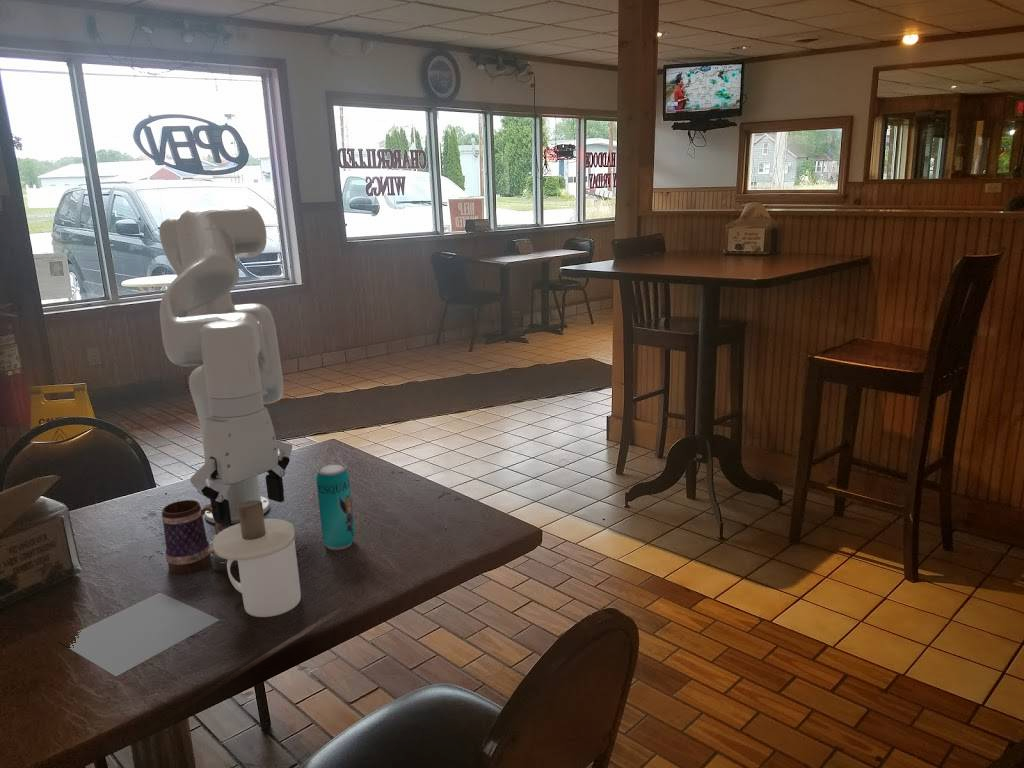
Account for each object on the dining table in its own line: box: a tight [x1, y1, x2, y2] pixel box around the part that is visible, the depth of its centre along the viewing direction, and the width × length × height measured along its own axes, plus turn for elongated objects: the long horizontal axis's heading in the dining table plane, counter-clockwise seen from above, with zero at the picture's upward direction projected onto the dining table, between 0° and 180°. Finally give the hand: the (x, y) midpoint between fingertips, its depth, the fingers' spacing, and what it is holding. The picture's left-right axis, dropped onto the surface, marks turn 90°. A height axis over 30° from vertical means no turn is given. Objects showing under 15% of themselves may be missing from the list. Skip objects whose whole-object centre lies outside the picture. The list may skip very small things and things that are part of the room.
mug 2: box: [226, 539, 302, 618], centre depth 116 cm, size 9×12×11 cm
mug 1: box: [161, 499, 223, 576], centre depth 129 cm, size 10×7×12 cm
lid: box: [212, 500, 296, 561], centre depth 114 cm, size 12×12×6 cm
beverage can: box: [315, 462, 355, 551], centre depth 135 cm, size 6×6×15 cm
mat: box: [68, 592, 221, 678], centre depth 111 cm, size 16×16×1 cm
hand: (250, 511), depth 114 cm, fingers open, 9 cm apart
